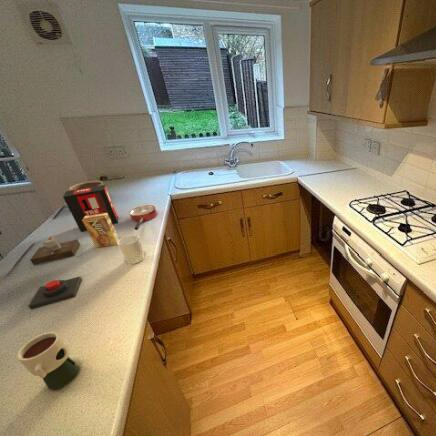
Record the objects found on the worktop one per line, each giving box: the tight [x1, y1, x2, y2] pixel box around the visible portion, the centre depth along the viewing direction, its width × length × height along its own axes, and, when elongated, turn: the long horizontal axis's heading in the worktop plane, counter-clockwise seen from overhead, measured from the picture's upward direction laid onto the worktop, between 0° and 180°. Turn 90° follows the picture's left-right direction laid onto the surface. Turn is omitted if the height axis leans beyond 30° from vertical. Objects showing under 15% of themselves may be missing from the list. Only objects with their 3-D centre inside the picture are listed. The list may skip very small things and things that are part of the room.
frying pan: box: [129, 204, 158, 231], centre depth 130 cm, size 32×13×6 cm, turn 29°
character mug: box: [16, 331, 80, 390], centre depth 58 cm, size 11×7×13 cm, turn 33°
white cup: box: [116, 234, 145, 265], centre depth 101 cm, size 8×8×10 cm
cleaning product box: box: [62, 184, 119, 233], centre depth 128 cm, size 16×9×20 cm, turn 123°
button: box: [44, 279, 61, 291], centre depth 85 cm, size 4×4×2 cm
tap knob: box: [42, 236, 61, 252], centre depth 105 cm, size 4×4×5 cm
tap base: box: [29, 239, 81, 266], centre depth 107 cm, size 14×10×3 cm
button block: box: [28, 276, 83, 310], centre depth 86 cm, size 12×10×4 cm
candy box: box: [82, 213, 120, 249], centre depth 111 cm, size 9×4×15 cm, turn 110°
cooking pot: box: [68, 180, 109, 193], centre depth 156 cm, size 25×19×12 cm
